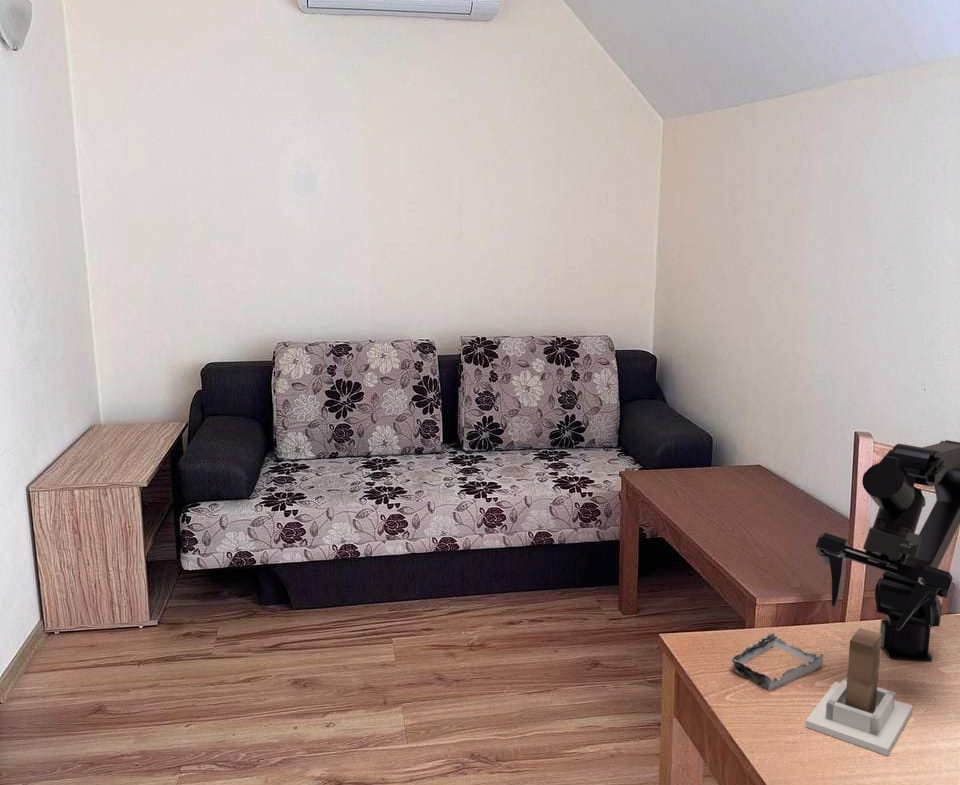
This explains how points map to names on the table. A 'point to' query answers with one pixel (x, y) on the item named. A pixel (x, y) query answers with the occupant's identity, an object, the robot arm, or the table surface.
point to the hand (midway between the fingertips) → (865, 618)
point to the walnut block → (863, 670)
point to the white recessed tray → (860, 719)
